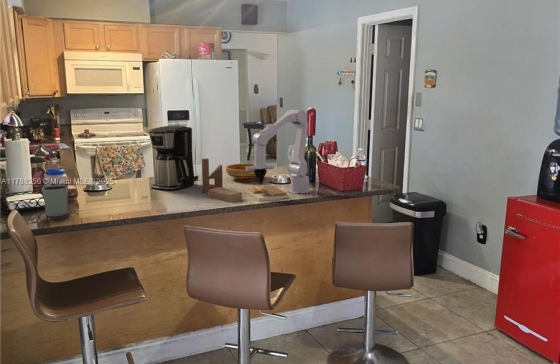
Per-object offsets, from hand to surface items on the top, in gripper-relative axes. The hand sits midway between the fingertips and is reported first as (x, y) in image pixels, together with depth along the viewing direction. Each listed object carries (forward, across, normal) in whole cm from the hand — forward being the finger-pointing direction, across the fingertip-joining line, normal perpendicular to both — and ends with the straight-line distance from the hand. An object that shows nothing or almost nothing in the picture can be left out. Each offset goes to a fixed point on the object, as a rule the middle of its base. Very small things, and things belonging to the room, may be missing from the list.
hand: (260, 184), depth 232 cm
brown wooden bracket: (+8, +18, -25) cm, 32 cm away
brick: (+8, +16, -6) cm, 19 cm away
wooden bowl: (+8, -8, -49) cm, 50 cm away
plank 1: (+6, -2, -9) cm, 11 cm away
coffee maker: (+8, +32, -46) cm, 56 cm away
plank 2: (+4, -2, 0) cm, 4 cm away
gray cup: (+8, +94, -7) cm, 94 cm away
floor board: (+7, -5, -5) cm, 10 cm away
